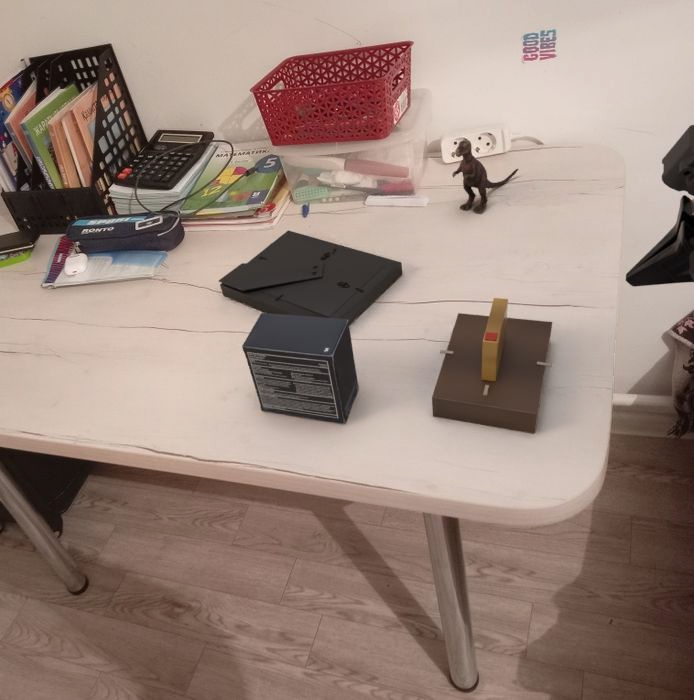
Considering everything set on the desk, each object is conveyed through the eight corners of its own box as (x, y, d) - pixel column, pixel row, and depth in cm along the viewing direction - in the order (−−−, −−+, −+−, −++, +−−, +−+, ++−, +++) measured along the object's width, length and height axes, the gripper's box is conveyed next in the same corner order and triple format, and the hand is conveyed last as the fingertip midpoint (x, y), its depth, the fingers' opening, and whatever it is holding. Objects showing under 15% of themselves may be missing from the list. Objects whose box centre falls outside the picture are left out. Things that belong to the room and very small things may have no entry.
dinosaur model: (449, 143, 86) (508, 104, 92) (443, 217, 94) (498, 177, 100) (475, 149, 83) (534, 108, 90) (467, 225, 91) (522, 183, 97)
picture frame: (223, 295, 93) (333, 340, 80) (218, 280, 91) (330, 324, 78) (290, 241, 100) (402, 274, 86) (287, 226, 98) (401, 257, 84)
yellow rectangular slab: (492, 336, 69) (494, 295, 66) (505, 337, 69) (508, 297, 65) (481, 379, 65) (482, 339, 61) (495, 381, 64) (497, 341, 61)
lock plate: (453, 331, 76) (452, 311, 74) (555, 342, 70) (558, 321, 68) (426, 415, 67) (425, 395, 65) (541, 435, 62) (544, 414, 60)
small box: (361, 384, 73) (351, 316, 66) (346, 425, 69) (333, 357, 62) (278, 373, 78) (261, 309, 71) (259, 411, 74) (239, 347, 67)
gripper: (749, 46, 49) (574, 174, 61) (772, 160, 38) (553, 288, 50) (843, 137, 50) (653, 244, 63) (893, 273, 39) (650, 371, 51)
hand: (628, 280), depth 57 cm, fingers closed
